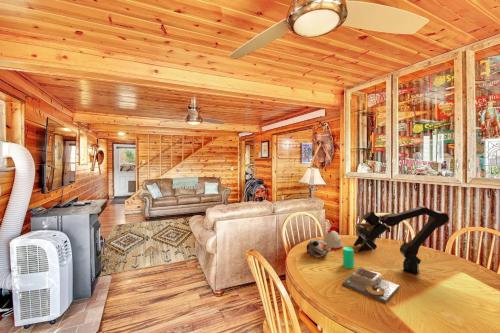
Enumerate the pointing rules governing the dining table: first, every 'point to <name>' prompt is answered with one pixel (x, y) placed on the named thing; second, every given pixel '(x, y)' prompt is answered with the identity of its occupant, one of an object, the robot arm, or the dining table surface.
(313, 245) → the lucky cat figurine
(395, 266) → the dining table surface
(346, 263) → the candle
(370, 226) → the plant pot
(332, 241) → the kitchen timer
